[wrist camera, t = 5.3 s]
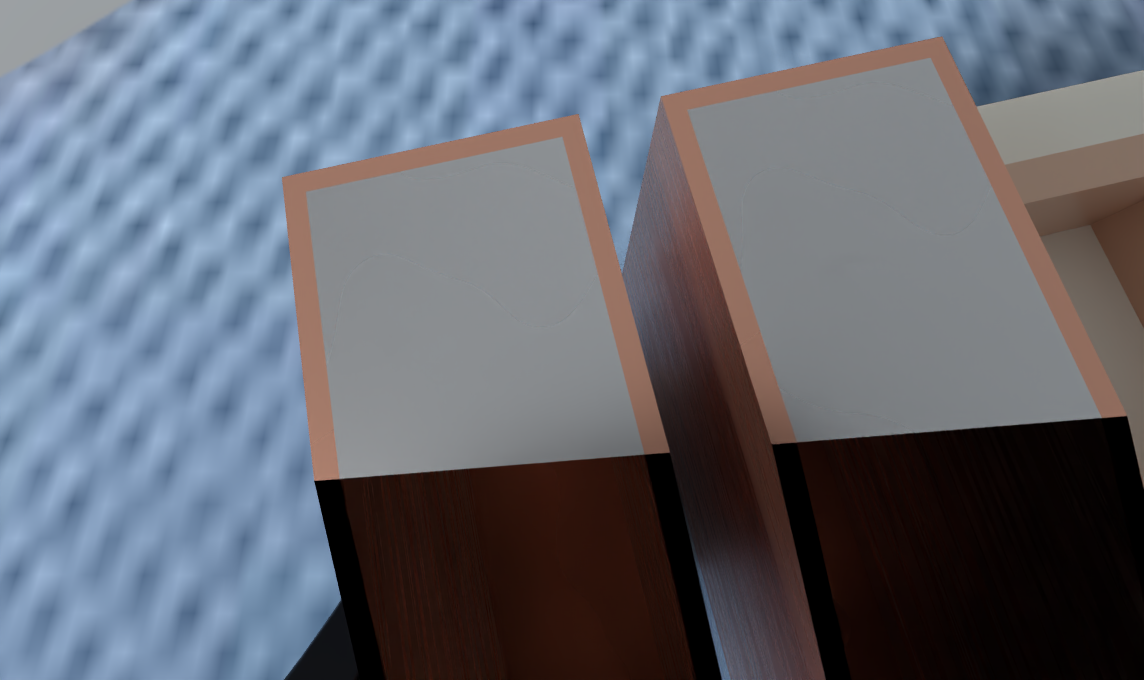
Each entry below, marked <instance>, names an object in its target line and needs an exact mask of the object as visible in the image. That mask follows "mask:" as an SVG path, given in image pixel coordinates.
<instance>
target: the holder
mask: <svg viewBox="0 0 1144 680" xmlns="http://www.w3.org/2000/svg"><path fill="white" fill-rule="evenodd" d="M977 109H978V111H979V113H980V115H981V117H982V119H983V121H984V123H985V125H986V127H987V129H988V132H989V134H990V136H991V138H992V140H993V142H994V144H995V146H996V148H997V150H998V152H999V154H1000V156H1001V158H1002V160H1003V162H1004V164H1005V166H1006V168H1007V170H1008V172H1009V175H1010V177H1011V179H1012V181H1013V183H1014V185H1015V187H1016V189H1017V191H1018V193H1019V195H1020V197H1021V199H1022V201H1023V203H1024V205H1025V207H1026V209H1027V211H1028V213H1029V215H1030V218H1031V220H1032V222H1033V224H1034V226H1035V228H1036V230H1037V232H1038V234H1039V236H1040V238H1041V240H1042V242H1043V244H1044V246H1045V248H1046V250H1047V252H1048V254H1049V256H1050V259H1051V261H1052V263H1053V265H1054V267H1055V269H1056V271H1057V273H1058V275H1059V277H1060V279H1061V281H1062V283H1063V285H1064V287H1065V289H1066V291H1067V293H1068V295H1069V297H1070V299H1071V302H1072V304H1073V306H1074V308H1075V310H1076V312H1077V314H1078V316H1079V318H1080V320H1081V322H1082V324H1083V326H1084V328H1085V330H1086V332H1087V334H1088V336H1089V338H1090V340H1091V343H1092V345H1093V347H1094V349H1095V351H1096V353H1097V355H1098V357H1099V359H1100V361H1101V363H1102V365H1103V367H1104V369H1105V371H1106V373H1107V375H1108V377H1109V379H1110V381H1111V383H1112V386H1113V388H1114V390H1115V392H1116V394H1117V396H1118V398H1119V400H1120V402H1121V404H1122V406H1123V408H1124V410H1125V412H1126V414H1127V417H1128V421H1129V425H1130V430H1131V434H1132V438H1133V443H1134V447H1135V452H1136V456H1137V460H1138V465H1139V469H1140V473H1141V478H1142V482H1143V486H1144V70H1142V71H1137V72H1132V73H1128V74H1123V75H1119V76H1114V77H1110V78H1105V79H1101V80H1096V81H1091V82H1087V83H1082V84H1078V85H1073V86H1069V87H1064V88H1059V89H1055V90H1050V91H1046V92H1041V93H1037V94H1032V95H1028V96H1023V97H1018V98H1014V99H1009V100H1005V101H1000V102H996V103H991V104H987V105H982V106H977Z"/></svg>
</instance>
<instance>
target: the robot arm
mask: <svg viewBox="0 0 1144 680" xmlns="http://www.w3.org/2000/svg"><path fill="white" fill-rule="evenodd" d="M284 680H360V678H359V673H358V669H357V665H356V660H355V656H354V652H353V647H352V643H351V638H350V634H349V630H348V625H347V621H346V617H345V612H344V608H343V604H342V599H341V601H340V602H339V604H338V605H337V607H336V608H335V610H334V611H333V613H332V614H331V616H330V617H329V618H328V620H327V621H326V623H325V624H324V625H323V627H322V628H321V630H320V631H319V633H318V634H317V635H316V637H315V638H314V640H313V641H312V642H311V644H310V645H309V647H308V648H307V650H306V651H305V652H304V654H303V655H302V657H301V658H300V659H299V661H298V662H297V663H296V665H295V666H294V667H293V668H292V670H291V671H290V672H289V674H288V675H287V676H286V678H285V679H284Z"/></svg>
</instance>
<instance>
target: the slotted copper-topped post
mask: <svg viewBox="0 0 1144 680" xmlns="http://www.w3.org/2000/svg"><path fill="white" fill-rule="evenodd" d="M282 182H283V191H284V201H285V210H286V219H287V229H288V238H289V248H290V257H291V266H292V276H293V285H294V295H295V304H296V313H297V323H298V332H299V341H300V351H301V360H302V370H303V379H304V388H305V398H306V407H307V417H308V426H309V435H310V445H311V454H312V464H313V473H314V482H315V486H316V490H317V495H318V499H319V503H320V508H321V512H322V516H323V521H324V525H325V529H326V534H327V538H328V543H329V547H330V551H331V556H332V560H333V564H334V569H335V573H336V577H337V582H338V586H339V591H340V595H341V599H342V604H343V608H344V612H345V617H346V621H347V625H348V630H349V634H350V638H351V643H352V647H353V652H354V656H355V660H356V665H357V669H358V673H359V678H360V680H1144V486H1143V482H1142V478H1141V473H1140V469H1139V465H1138V460H1137V456H1136V452H1135V447H1134V443H1133V438H1132V434H1131V430H1130V425H1129V421H1128V417H1127V414H1126V412H1125V410H1124V408H1123V406H1122V404H1121V402H1120V400H1119V398H1118V396H1117V394H1116V392H1115V390H1114V388H1113V386H1112V383H1111V381H1110V379H1109V377H1108V375H1107V373H1106V371H1105V369H1104V367H1103V365H1102V363H1101V361H1100V359H1099V357H1098V355H1097V353H1096V351H1095V349H1094V347H1093V345H1092V343H1091V340H1090V338H1089V336H1088V334H1087V332H1086V330H1085V328H1084V326H1083V324H1082V322H1081V320H1080V318H1079V316H1078V314H1077V312H1076V310H1075V308H1074V306H1073V304H1072V302H1071V299H1070V297H1069V295H1068V293H1067V291H1066V289H1065V287H1064V285H1063V283H1062V281H1061V279H1060V277H1059V275H1058V273H1057V271H1056V269H1055V267H1054V265H1053V263H1052V261H1051V259H1050V256H1049V254H1048V252H1047V250H1046V248H1045V246H1044V244H1043V242H1042V240H1041V238H1040V236H1039V234H1038V232H1037V230H1036V228H1035V226H1034V224H1033V222H1032V220H1031V218H1030V215H1029V213H1028V211H1027V209H1026V207H1025V205H1024V203H1023V201H1022V199H1021V197H1020V195H1019V193H1018V191H1017V189H1016V187H1015V185H1014V183H1013V181H1012V179H1011V177H1010V175H1009V172H1008V170H1007V168H1006V166H1005V164H1004V162H1003V160H1002V158H1001V156H1000V154H999V152H998V150H997V148H996V146H995V144H994V142H993V140H992V138H991V136H990V134H989V132H988V129H987V127H986V125H985V123H984V121H983V119H982V117H981V115H980V113H979V111H978V109H977V107H976V105H975V103H974V101H973V99H972V97H971V95H970V93H969V91H968V88H967V86H966V84H965V82H964V80H963V78H962V76H961V74H960V72H959V70H958V68H957V66H956V64H955V62H954V60H953V58H952V56H951V54H950V52H949V50H948V48H947V45H946V43H945V41H944V39H943V37H937V38H932V39H928V40H923V41H918V42H914V43H909V44H904V45H900V46H895V47H890V48H886V49H881V50H876V51H872V52H867V53H862V54H858V55H853V56H848V57H843V58H839V59H834V60H829V61H825V62H820V63H815V64H811V65H806V66H801V67H797V68H792V69H787V70H783V71H778V72H773V73H769V74H764V75H759V76H754V77H750V78H745V79H740V80H736V81H731V82H726V83H722V84H717V85H712V86H708V87H703V88H698V89H694V90H689V91H684V92H680V93H675V94H670V95H665V96H661V98H660V103H659V107H658V112H657V117H656V121H655V126H654V130H653V135H652V140H651V144H650V149H649V153H648V158H647V163H646V167H645V172H644V176H643V181H642V185H641V190H640V195H639V199H638V204H637V208H636V213H635V218H634V222H633V227H632V231H631V236H630V241H629V245H628V250H627V254H626V259H625V264H624V268H623V273H621V269H620V266H619V262H618V258H617V255H616V251H615V247H614V244H613V240H612V236H611V233H610V229H609V225H608V221H607V218H606V214H605V210H604V207H603V203H602V199H601V196H600V192H599V188H598V185H597V181H596V177H595V173H594V170H593V166H592V162H591V159H590V155H589V151H588V148H587V144H586V140H585V136H584V133H583V129H582V125H581V122H580V118H579V114H576V115H572V116H567V117H562V118H558V119H553V120H548V121H544V122H539V123H534V124H530V125H525V126H520V127H516V128H511V129H506V130H502V131H497V132H492V133H488V134H483V135H478V136H473V137H469V138H464V139H459V140H455V141H450V142H445V143H441V144H436V145H431V146H427V147H422V148H417V149H413V150H408V151H403V152H399V153H394V154H389V155H384V156H380V157H375V158H370V159H366V160H361V161H356V162H352V163H347V164H342V165H338V166H333V167H328V168H324V169H319V170H314V171H310V172H305V173H300V174H295V175H291V176H286V177H282Z"/></svg>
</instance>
